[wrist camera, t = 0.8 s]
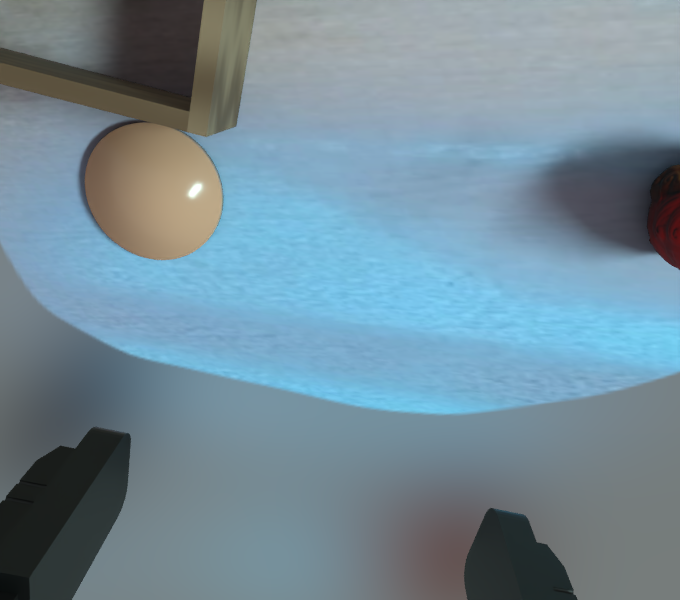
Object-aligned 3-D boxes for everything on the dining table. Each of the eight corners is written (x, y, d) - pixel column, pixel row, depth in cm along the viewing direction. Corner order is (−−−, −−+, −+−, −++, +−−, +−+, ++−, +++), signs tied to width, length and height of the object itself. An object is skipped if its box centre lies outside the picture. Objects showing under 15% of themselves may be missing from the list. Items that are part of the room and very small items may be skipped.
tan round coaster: (93, 106, 33) (89, 106, 33) (233, 142, 34) (231, 143, 33) (85, 239, 37) (81, 242, 36) (212, 270, 37) (210, 273, 37)
